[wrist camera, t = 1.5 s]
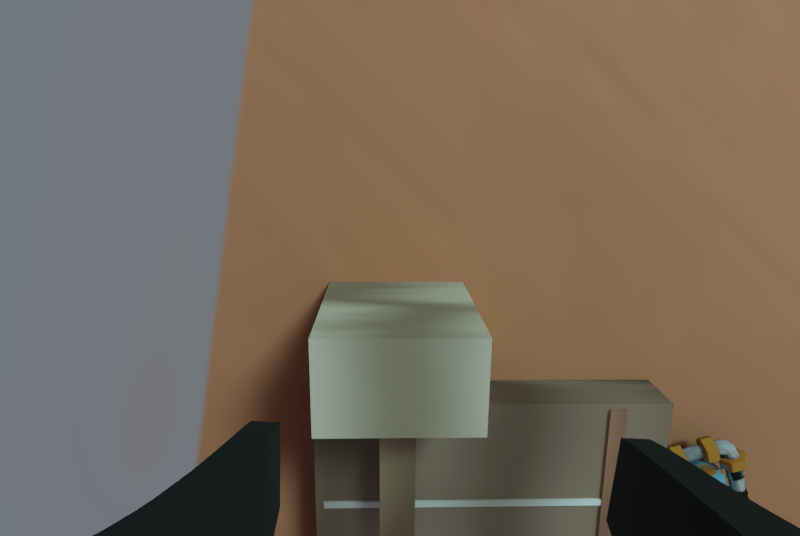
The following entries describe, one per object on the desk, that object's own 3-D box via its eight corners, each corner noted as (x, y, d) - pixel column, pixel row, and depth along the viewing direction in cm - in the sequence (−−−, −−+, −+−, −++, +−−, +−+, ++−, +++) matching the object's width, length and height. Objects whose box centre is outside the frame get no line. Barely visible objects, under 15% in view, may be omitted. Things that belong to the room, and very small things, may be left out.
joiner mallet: (334, 481, 23) (317, 600, 17) (329, 282, 21) (308, 338, 15) (455, 481, 23) (479, 598, 17) (462, 282, 21) (491, 338, 15)
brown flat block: (324, 576, 24) (318, 618, 22) (319, 381, 22) (311, 407, 20) (624, 571, 24) (647, 612, 22) (648, 379, 22) (675, 405, 20)
